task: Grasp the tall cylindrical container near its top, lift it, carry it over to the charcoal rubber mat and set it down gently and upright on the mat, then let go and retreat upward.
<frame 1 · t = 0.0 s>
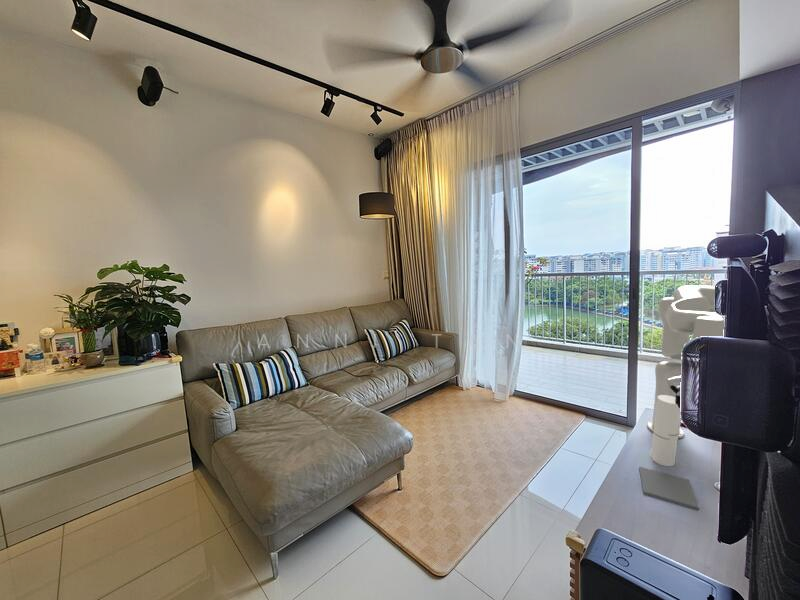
hand: (699, 410, 101), 31 cm above the tv console, tool pointing down, fingers open, 9 cm apart
rubber mat: (666, 487, 112), on the tv console
cylindrical container: (662, 460, 125), on the tv console
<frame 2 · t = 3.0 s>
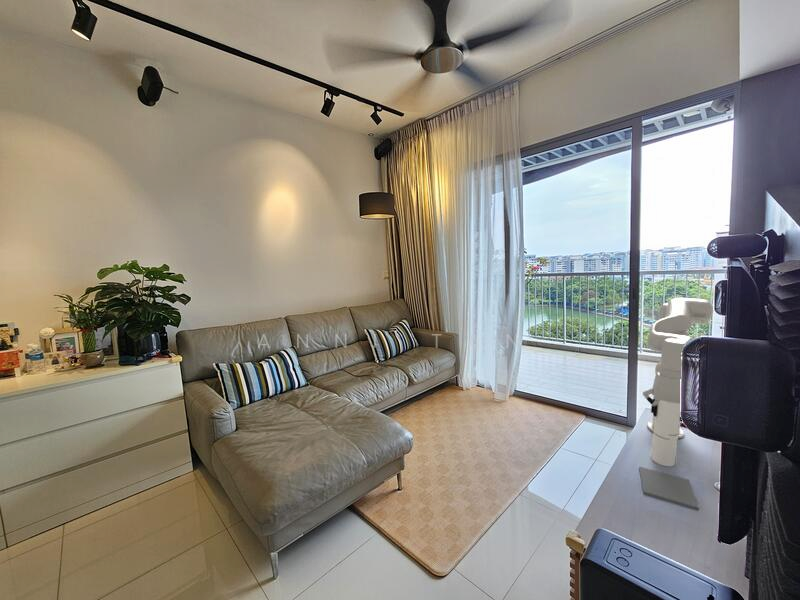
hand: (667, 417, 122), 18 cm above the tv console, tool pointing down, fingers closed on cylindrical container, 7 cm apart
cylindrical container: (662, 460, 125), on the tv console, touching gripper
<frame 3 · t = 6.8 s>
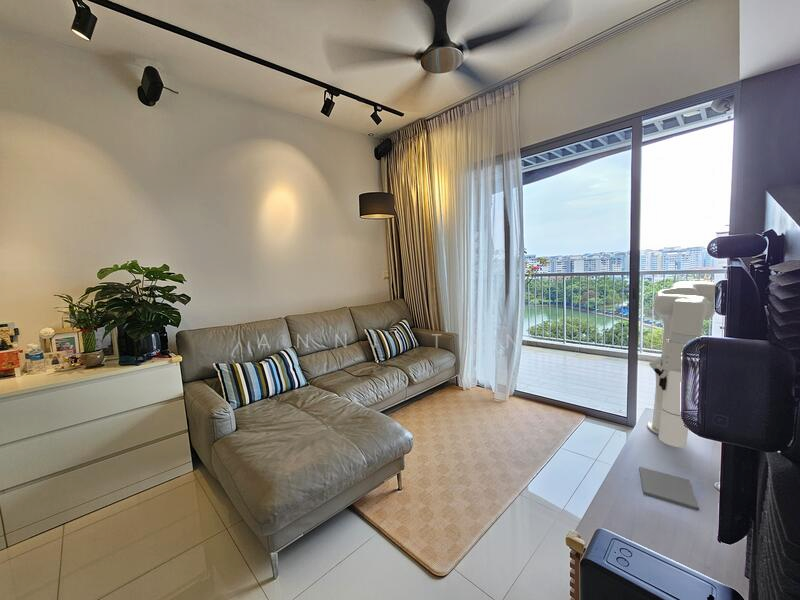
hand: (678, 390, 106), 35 cm above the tv console, tool pointing down, fingers closed on cylindrical container, 7 cm apart
cylindrical container: (672, 441, 109), point 17 cm above the tv console, touching gripper
when the fingers open (20 cm above the tv console, at t = 10.6 s): cylindrical container stays where it is, resting on rubber mat.
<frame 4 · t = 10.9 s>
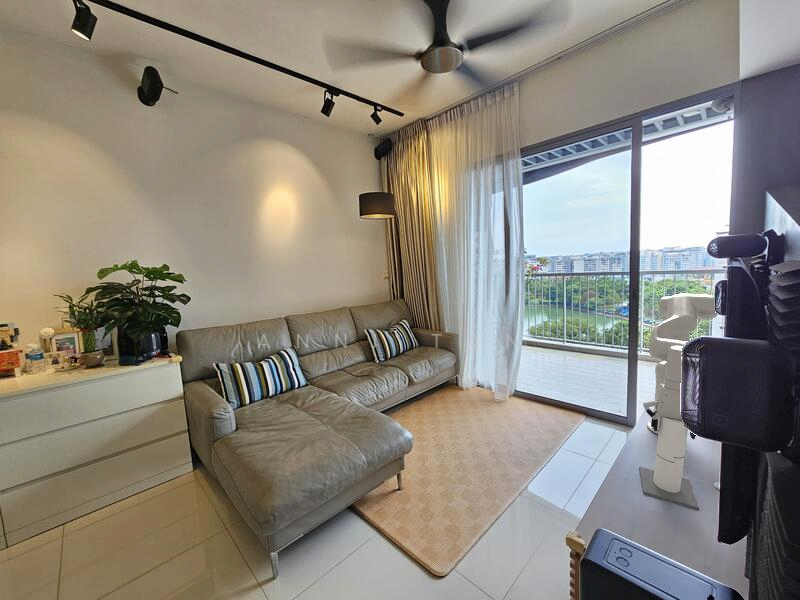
hand: (673, 433, 108), 20 cm above the tv console, tool pointing down, fingers open, 9 cm apart
cylindrical container: (666, 485, 112), point 1 cm above the tv console, touching rubber mat
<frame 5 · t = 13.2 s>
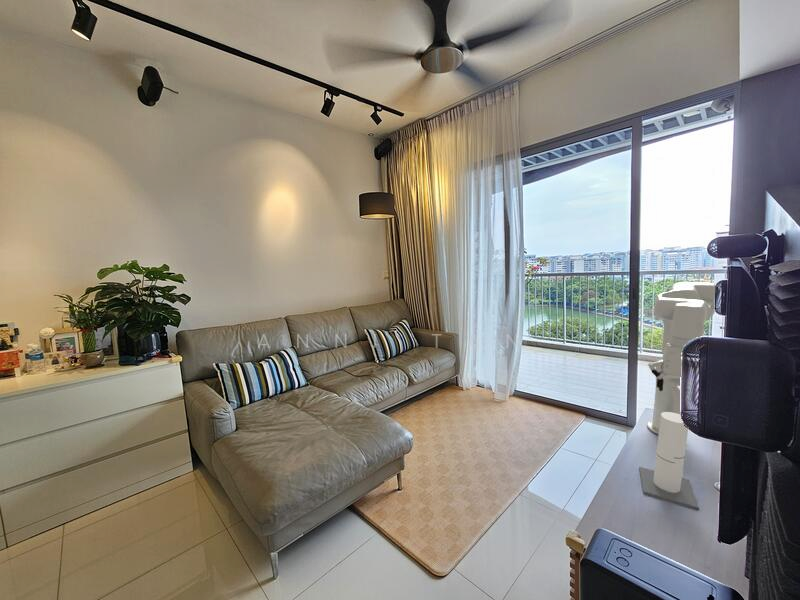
hand: (679, 392, 106), 34 cm above the tv console, tool pointing down, fingers open, 9 cm apart
nothing on the tv console moved.
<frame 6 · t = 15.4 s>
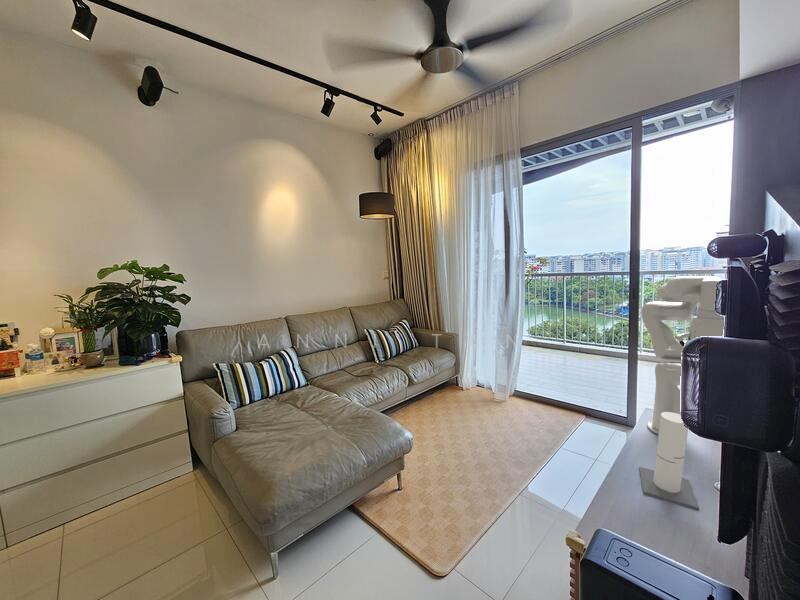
hand: (705, 361, 116), 40 cm above the tv console, tool pointing down, fingers open, 9 cm apart
nothing on the tv console moved.
at the end: cylindrical container inside the target area on the rubber mat (0.2 cm from its centre), point 0.6 cm above the rubber mat's base; cylindrical container tilted 0°; the gripper is holding nothing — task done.
